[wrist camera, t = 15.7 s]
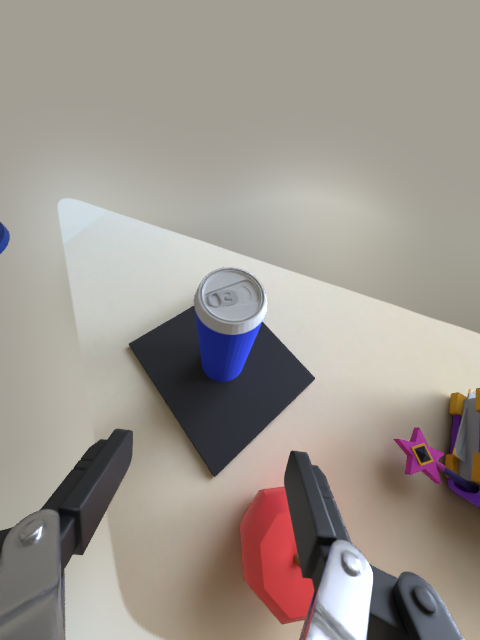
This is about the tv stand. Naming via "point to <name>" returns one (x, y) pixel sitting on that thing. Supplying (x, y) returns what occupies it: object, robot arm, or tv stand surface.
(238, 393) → the mat
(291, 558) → the apple
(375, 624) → the robot arm
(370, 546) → the tv stand surface
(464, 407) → the book
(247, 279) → the beverage can
